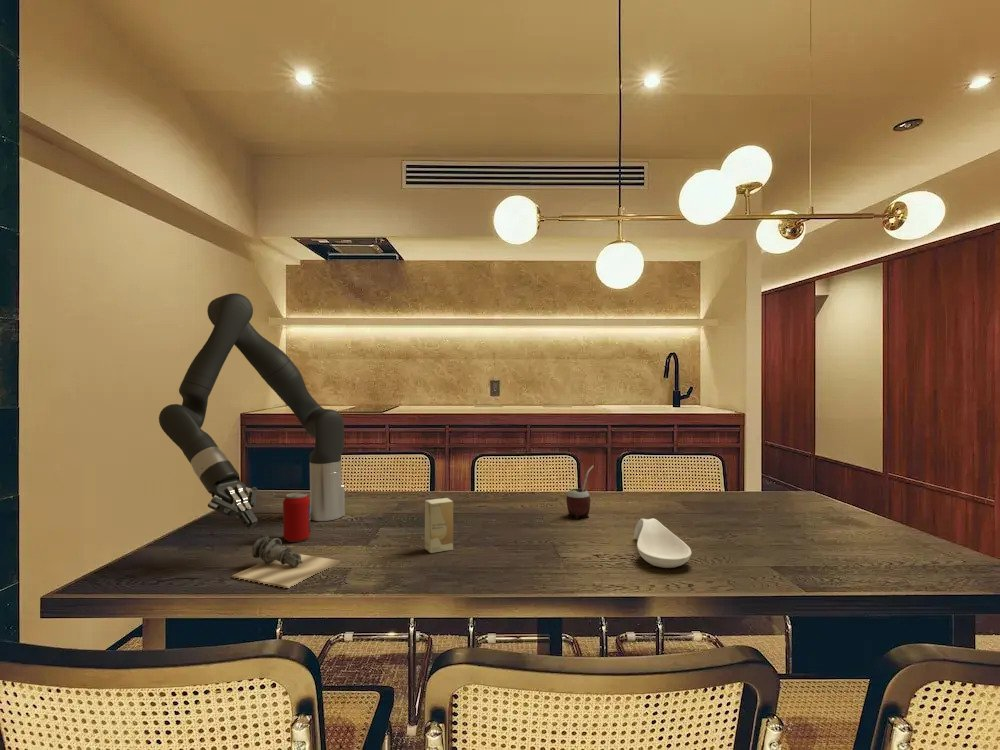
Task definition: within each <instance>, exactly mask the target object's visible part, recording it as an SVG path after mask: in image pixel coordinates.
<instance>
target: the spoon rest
mask: <svg viewBox="0 0 1000 750" xmlns="http://www.w3.org/2000/svg"><path fill="white" fill-rule="evenodd" d="M633 539H634V540H635V541H637V543H636V548H637V550H638V553H639V555H640V556H641V558H642V559H643V560H644V561H645V562H646V563H649V564H650V565H651V566H654V567H656V568H663V569H674V568H677V567H680V566H683V565H684V564H686V563H687V562H688V561H689V560H690V558H691V556H692V549H691V548H690V546H689V545H687V544H686V542H684V541H683V540H682V539H680V537H678V536H677V535H676V534H674V533H673V532H672V531H671V530H669V529H668V528H667V527H666V526H664V525H663V524H662V523H661V522H660V521H659V520H657V519H656V518H655V517H654V518H653V517H652V518H649V519H647V518H640V519H639V520H638V521H637V522H636V525H635V528H634V532H633Z"/></svg>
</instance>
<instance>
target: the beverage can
mask: <svg viewBox="0 0 1000 750" xmlns="http://www.w3.org/2000/svg"><path fill="white" fill-rule="evenodd" d="M310 511H311V510H310V497H309V495H308V493H307V492H304V491H303V492H292V493H288V494H285V498H284V499H283V502H282V512H283V517H282V518H283V519H282V520H283V521H282V522H283V523H282V524H283V539H284V540H286V541H287V542H288V543H299V542H304V541H306V540H307V539H308V538H310V537H311V514H310ZM303 540H304V541H303Z"/></svg>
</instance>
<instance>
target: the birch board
mask: <svg viewBox="0 0 1000 750" xmlns="http://www.w3.org/2000/svg"><path fill="white" fill-rule="evenodd" d="M299 554H300V555H301V561H302V562H303V563H301V564H300V563H299V565H297V566H295V567H294V566H291V565H288V564H286V563H285V564H281V562H280V561H277V560H274V561H273V562H272V563H270V564H266V563H264V561H263V562H261V563H258V564H256V565H254V566H251V567H249V568H246V569H244V570H240V571H239V572H236V573H234V574H232V575H231V577H234V578H233V579H235V578H239V579H238V580H240V579H244V580H243V581H245V580H248V581H247V582H250V581H252V582H251V583H255V582H258V583H257V584H260V583H263V584H262V585H265V584H268V585H267V586H270V585H273V586H272V587H275V586H278V587H277V588H280V587H283V588H282V589H285V588H289V589H290V587H291V586H293V587H295V586H297V585H299V584H300V583H299V582H301V583H303V582H304V581H303V580H305V579H307V578H309V577H311V576H313V575H315V574H317V573H319V574H321V573H323V572H325V571H327V570H329V569H331V568H333V567H335V566H337V565H339V564H341V560H339V559H333V558H327V557H321V556H313V555H308V554H301V553H299ZM328 568H329V569H328ZM326 569H327V570H326ZM324 570H325V571H324ZM322 571H323V572H322ZM320 572H321V573H320ZM317 575H318V574H317ZM315 576H316V575H315ZM313 577H314V576H313ZM311 578H312V577H311ZM309 579H310V578H309ZM307 580H308V579H307ZM302 581H303V582H302ZM305 581H306V580H305ZM298 583H299V584H298ZM296 584H297V585H296ZM294 585H295V586H294ZM291 588H292V587H291Z"/></svg>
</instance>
